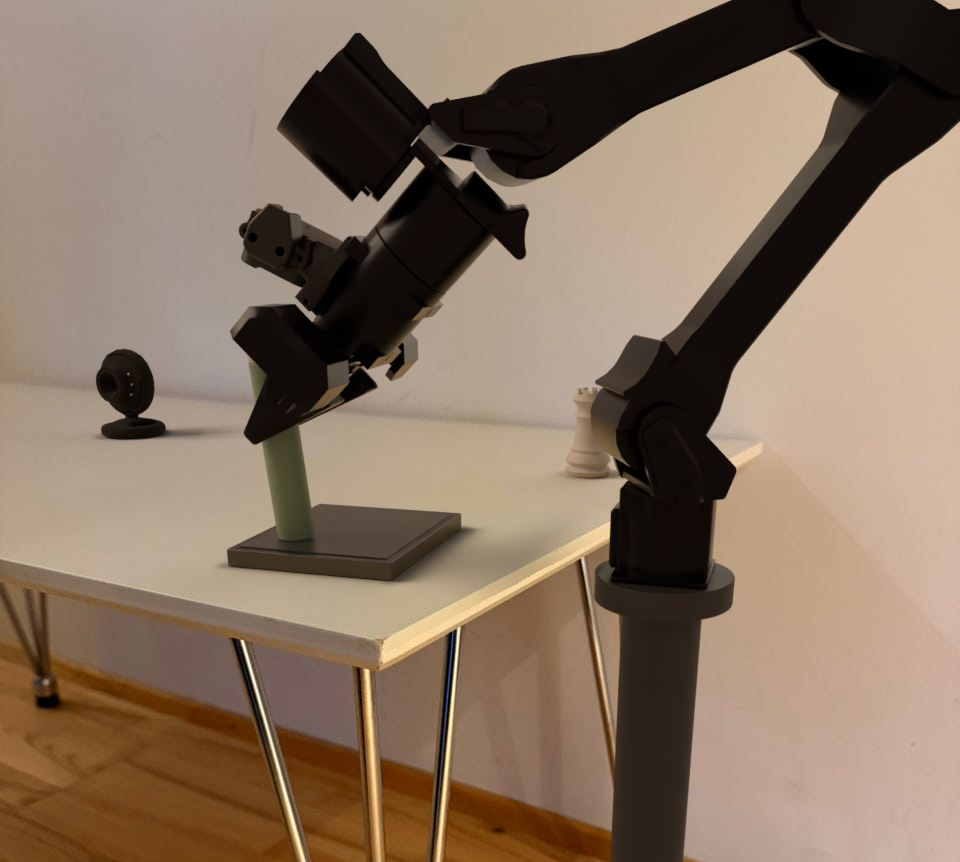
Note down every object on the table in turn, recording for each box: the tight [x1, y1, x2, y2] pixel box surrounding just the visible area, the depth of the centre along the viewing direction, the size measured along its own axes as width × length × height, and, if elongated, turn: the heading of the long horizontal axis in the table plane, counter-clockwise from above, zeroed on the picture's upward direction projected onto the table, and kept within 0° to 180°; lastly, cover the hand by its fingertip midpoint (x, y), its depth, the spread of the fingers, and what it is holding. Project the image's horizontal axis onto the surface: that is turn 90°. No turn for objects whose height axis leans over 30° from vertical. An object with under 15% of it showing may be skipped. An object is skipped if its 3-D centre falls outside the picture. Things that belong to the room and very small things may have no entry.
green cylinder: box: [246, 354, 315, 541], centre depth 66 cm, size 3×3×13 cm
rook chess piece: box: [564, 386, 612, 479], centre depth 93 cm, size 4×4×8 cm
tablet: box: [226, 503, 462, 581], centre depth 71 cm, size 12×14×1 cm
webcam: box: [95, 348, 167, 440], centre depth 118 cm, size 8×8×10 cm
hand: (259, 435), depth 66 cm, fingers closed on green cylinder, 3 cm apart
